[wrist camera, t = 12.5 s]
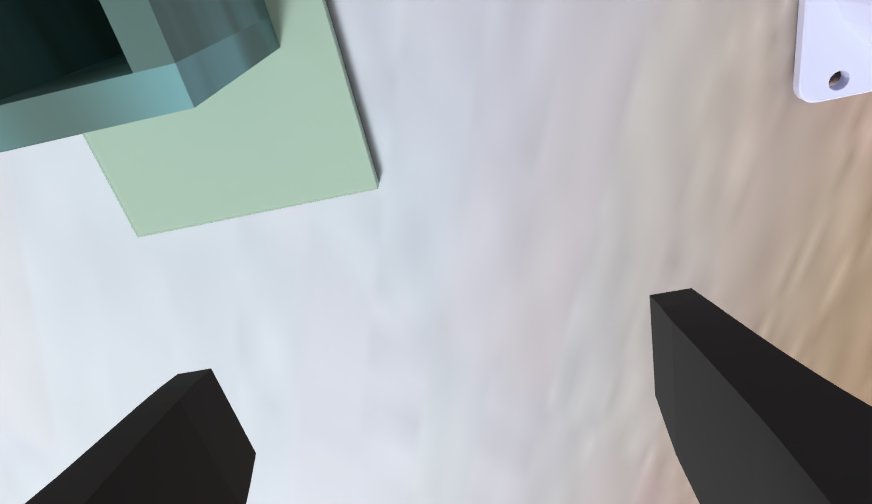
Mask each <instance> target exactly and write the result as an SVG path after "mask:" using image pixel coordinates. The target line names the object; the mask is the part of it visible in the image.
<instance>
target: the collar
mask: <svg viewBox="0 0 872 504" xmlns="http://www.w3.org/2000/svg"><path fill="white" fill-rule="evenodd" d="M279 48H280V45H279V42H278V39H277V36H276V33H275V31H274V28H273V25H272V22H271V19H270V16H269V13H268V10H267V7H266V4H265V1H264V0H0V152H4V151H9V150H13V149H17V148H22V147H26V146H31V145H35V144H39V143H44V142H48V141H52V140H57V139H61V138H65V137H70V136H74V135H79V134H83V133H87V132H92V131H96V130H100V129H105V128H109V127H114V126H118V125H122V124H127V123H131V122H135V121H140V120H144V119H148V118H153V117H157V116H162V115H166V114H170V113H175V112H179V111H183V110H188V109H192V108H195V107H196V106H198V105H199V104H201V103H202V102H204V101H205V100H206V99H208V98H209V97H211V96H212V95H214V94H215V93H216V92H218V91H219V90H221V89H222V88H223V87H225V86H226V85H228V84H229V83H231V82H232V81H233V80H235V79H236V78H238V77H239V76H241V75H242V74H243V73H245V72H246V71H248V70H249V69H251V68H252V67H253V66H255V65H256V64H258V63H259V62H260V61H262V60H263V59H265V58H266V57H268V56H269V55H270V54H272V53H273V52H275V51H276V50H278V49H279Z"/></svg>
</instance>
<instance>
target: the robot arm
mask: <svg viewBox="0 0 872 504" xmlns="http://www.w3.org/2000/svg"><path fill="white" fill-rule="evenodd" d="M838 71H840V72H841V77H840V80H839V81H838V82H837V83H836V84H835V85H833V86H831V87H829V80H830V77H831V76H832V75H833V74H834V73H836V72H838ZM793 88H794V93H795V94H796V95H797V97H798V98H801V99H803V100H805V101H807V102H809V103H812V102H821V101H826V100H831V99H836V98H841V97H846V96H851V95H856V94H861V93H866V92H871V91H872V0H799V10H798V24H797V38H796V52H795V66H794V80H793ZM650 309H651V326H652V344H653V362H654V380H655V395H656V398H657V401H658V404H659V407H660V410H661V413H662V416H663V419H664V422H665V425H666V428H667V430H668V433H669V436H670V439H671V441H672V444H673V447H674V450H675V453H676V455H677V457H678V459H679V462H680V464H681V466H682V468H683V470H684V472H685V474H686V476H687V478H688V480H689V482H690V484H691V486H692V489H693V491H694V493H695V495H696V497H697V499H698V501H699V503H700V504H872V406H870V405H868V404H866V403H865V402H863V401H861V400H860V399H858V398H856V397H854V396H853V395H851V394H849V393H847V392H846V391H844V390H842V389H841V388H839V387H837V386H836V385H834V384H833V383H831V382H829V381H828V380H826V379H824V378H823V377H821V376H820V375H818V374H816V373H815V372H813V371H812V370H810V369H809V368H807V367H805V366H804V365H802V364H801V363H799V362H798V361H796V360H795V359H793V358H792V357H790V356H789V355H787V354H785V353H784V352H782V351H781V350H779V349H778V348H776V347H775V346H773V345H772V344H770V343H769V342H768V341H766V340H765V339H763V338H762V337H760V336H759V335H757V334H756V333H754V332H753V331H752V330H750V329H749V328H747V327H746V326H744V325H743V324H741V323H740V322H739V321H737V320H736V319H734V318H733V317H732V316H730V315H729V314H727V313H726V312H724V311H723V310H722V309H720V308H719V307H717V306H716V305H714V304H713V303H712V302H710V301H709V300H707V299H706V298H704V297H703V296H702V295H700V294H699V293H697V292H696V291H694V290H693V289H692V288H690V289H684V290H678V291H672V292H666V293H660V294H654V295H650ZM255 455H256V453H255V451H254V449H253V447H252V445H251V443H250V441H249V439H248V437H247V436H246V434H245V432H244V430H243V428H242V426H241V424H240V422H239V420H238V419H237V417H236V415H235V413H234V411H233V409H232V407H231V405H230V403H229V402H228V400H227V398H226V396H225V394H224V392H223V390H222V388H221V386H220V385H219V383H218V381H217V379H216V377H215V375H214V373H213V371H212V369H206V370H200V371H194V372H188V373H182V374H177V375H176V376H175V377H173V378H172V379H171V380H169V381H168V382H167V383H165V384H164V385H163V386H161V387H160V388H159V389H158V390H157V391H155V392H154V393H153V394H152V395H150V396H149V397H148V398H147V399H146V400H145V401H143V402H142V403H141V404H140V405H139V406H138V407H136V408H135V409H134V410H133V411H132V412H131V413H129V414H128V415H127V416H126V417H125V418H124V419H123V420H121V421H120V422H119V423H118V424H117V425H116V426H115V427H114V428H112V429H111V430H110V431H109V432H108V433H107V434H106V435H104V436H103V437H102V438H101V439H100V440H99V441H98V442H96V443H95V444H94V445H93V446H92V447H91V448H90V449H88V450H87V451H86V452H85V453H84V454H83V455H82V456H80V457H79V458H78V459H77V460H76V461H75V462H74V463H72V464H71V465H70V466H69V467H68V468H67V469H66V470H64V471H63V472H62V473H61V474H60V475H59V476H58V477H56V478H55V479H54V480H53V481H52V482H50V483H49V484H48V485H47V486H46V487H44V488H43V489H42V490H41V491H39V492H38V493H37V494H36V495H35V496H33V497H32V498H31V499H30V500H29V501H27V502H26V503H25V504H246V501H247V497H248V492H249V488H250V483H251V477H252V472H253V466H254V461H255Z"/></svg>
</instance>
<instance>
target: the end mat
mask: <svg viewBox="0 0 872 504" xmlns="http://www.w3.org/2000/svg"><path fill="white" fill-rule="evenodd" d="M264 1H265V4H266V7H267V10H268V13H269V16H270V19H271V22H272V25H273V28H274V31H275V33H276V36H277V39H278V42H279V45H280V48H279V49H278V50H276V51H275V52H273V53H272V54H270V55H269V56H268V57H266V58H265V59H263V60H262V61H260V62H259V63H258V64H256V65H255V66H253V67H252V68H251V69H249V70H248V71H246V72H245V73H243V74H242V75H241V76H239V77H238V78H236V79H235V80H233V81H232V82H231V83H229V84H228V85H226V86H225V87H223V88H222V89H221V90H219V91H218V92H216V93H215V94H214V95H212V96H211V97H209V98H208V99H206V100H205V101H204V102H202V103H201V104H199V105H198V106H196V107H195V108H192V109H188V110H183V111H179V112H175V113H170V114H166V115H162V116H157V117H153V118H148V119H144V120H140V121H135V122H131V123H127V124H122V125H118V126H114V127H109V128H105V129H100V130H96V131H92V132H87V133H83V136H84V138H85V139H86V141H87V143H88V145H89V147H90V149H91V151H92V153H93V155H94V156H95V158H96V160H97V162H98V164H99V166H100V168H101V170H102V171H103V173H104V175H105V177H106V179H107V181H108V183H109V185H110V186H111V188H112V190H113V192H114V194H115V196H116V198H117V200H118V201H119V203H120V205H121V207H122V209H123V211H124V213H125V215H126V216H127V218H128V220H129V222H130V224H131V226H132V228H133V230H134V231H135V233H136V235H137V237H142V236H147V235H152V234H157V233H162V232H167V231H172V230H177V229H182V228H187V227H192V226H197V225H202V224H207V223H212V222H216V221H221V220H226V219H231V218H236V217H241V216H246V215H251V214H256V213H261V212H266V211H271V210H276V209H281V208H286V207H291V206H296V205H301V204H306V203H311V202H316V201H321V200H326V199H330V198H335V197H340V196H345V195H350V194H355V193H360V192H365V191H370V190H375V189H378V186H379V182H378V178H377V175H376V172H375V168H374V165H373V161H372V158H371V154H370V151H369V148H368V144H367V141H366V137H365V134H364V130H363V127H362V124H361V120H360V117H359V113H358V110H357V106H356V103H355V100H354V96H353V93H352V89H351V86H350V83H349V79H348V76H347V72H346V69H345V65H344V62H343V59H342V55H341V52H340V48H339V45H338V41H337V38H336V35H335V31H334V28H333V24H332V21H331V18H330V14H329V11H328V7H327V4H326V0H264Z"/></svg>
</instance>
